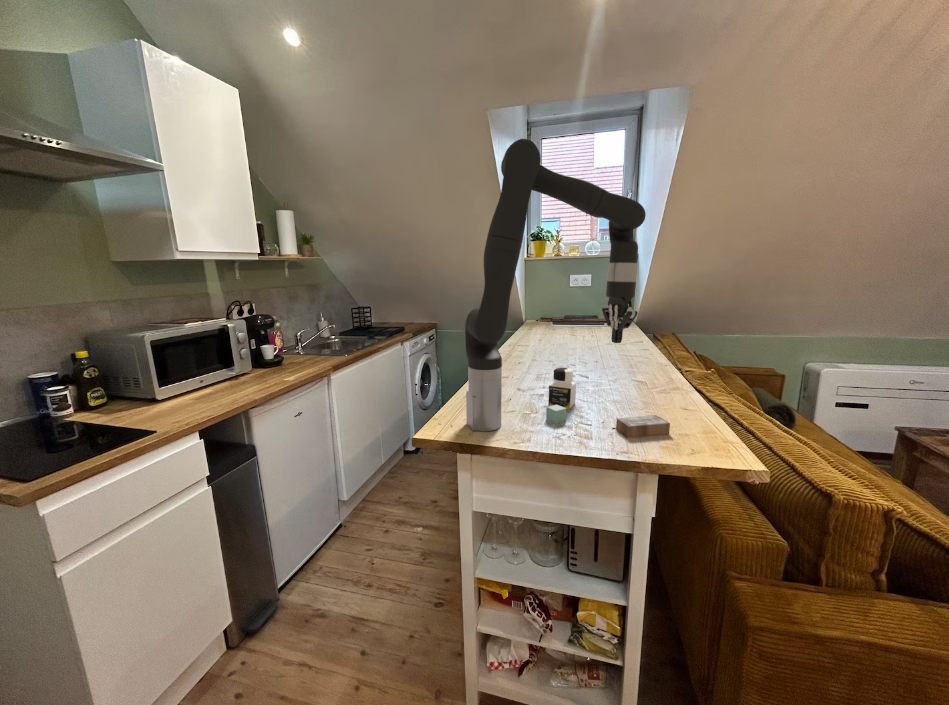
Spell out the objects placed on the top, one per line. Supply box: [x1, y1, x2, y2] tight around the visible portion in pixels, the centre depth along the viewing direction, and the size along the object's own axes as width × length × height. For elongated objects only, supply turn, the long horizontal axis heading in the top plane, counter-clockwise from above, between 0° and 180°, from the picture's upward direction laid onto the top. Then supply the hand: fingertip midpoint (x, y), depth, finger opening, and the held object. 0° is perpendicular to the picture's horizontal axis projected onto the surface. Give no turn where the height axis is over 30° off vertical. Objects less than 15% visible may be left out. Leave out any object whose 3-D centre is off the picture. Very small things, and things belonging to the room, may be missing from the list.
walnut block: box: [615, 415, 671, 439], centre depth 109 cm, size 6×4×12 cm
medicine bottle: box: [548, 367, 577, 410], centre depth 130 cm, size 7×7×12 cm
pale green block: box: [545, 405, 567, 425], centre depth 117 cm, size 4×4×4 cm
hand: (616, 342), depth 113 cm, fingers closed
